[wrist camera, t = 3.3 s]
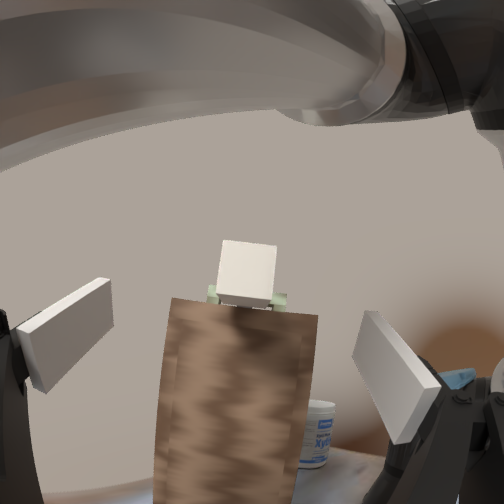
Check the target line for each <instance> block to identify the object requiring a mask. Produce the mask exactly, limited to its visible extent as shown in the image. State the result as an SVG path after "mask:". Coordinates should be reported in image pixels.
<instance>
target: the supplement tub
mask: <svg viewBox="0 0 504 504" xmlns="http://www.w3.org/2000/svg"><path fill="white" fill-rule="evenodd" d="M335 406H336V405H335V404H334V403H331V402H326V401H319V400H309V405H308V412H307V419H306V425H305V431H304V438H303V444H302V449H301V455H300V460H299V466H298V468H317V467H321V466H323V465H324V464H325V463H326V461H327V456H328V451H329V446H330V440H331V435H332V429H333V423H334V416H335Z"/></svg>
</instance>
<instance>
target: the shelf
mask: <svg viewBox="0 0 504 504" xmlns="http://www.w3.org/2000/svg"><path fill="white" fill-rule="evenodd" d="M286 298H287V294H282V293H274V292H272V300H271V301H270V303H269V304H268V306H267V307H272V311H269V310H260V309H251V308H243V307H235V306H227V305H221V300H220V298H219V297H218V296H217V294H216V286H215V285H209V289H208V296H207V303H205V302H198V301H190V300H184V299H178V298H172V300H171V306H170V312H169V319H168V326H167V333H166V340H165V347H164V354H163V363H162V371H161V380H160V389H159V399H158V410H157V423H156V436H155V453H154V477H153V504H291V500H292V495H293V491H294V486H295V481H296V476H297V471H298V466H299V460H300V455H301V449H302V444H303V438H304V431H305V425H306V419H307V412H308V405H309V397H310V390H311V382H312V373H313V364H314V355H315V345H316V334H317V323H318V315H310V314H299V313H289V312H285V308H286Z"/></svg>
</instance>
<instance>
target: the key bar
mask: <svg viewBox="0 0 504 504" xmlns="http://www.w3.org/2000/svg"><path fill="white" fill-rule="evenodd" d="M276 252H277V246H272V245H264V244H255V243H246V242H238V241H229V240H223V245H222V252H221V259H220V265H219V272H218V279H217V286H216V294H217V296H218V297H219V298H220V300H221V301H222V302H223V303H224V304H231V305H237V307H243V308H251V309H252V307H255V308H264V309H265V308H266V307H267V306H268V304H269V303H270V301H271V300H272V292H273V282H274V272H275V262H276Z"/></svg>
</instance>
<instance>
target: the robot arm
mask: <svg viewBox="0 0 504 504" xmlns="http://www.w3.org/2000/svg"><path fill="white" fill-rule="evenodd" d="M270 109H276V110H278V111H279V112H281V113H282V114H284V115H285V116H287V117H289V118H291V119H293V120H296V121H299V122H302V123H305V124H310V125H315V126H341V125H347V124H362V123H380V122H381V123H382V122H399V121H410V120H418V119H427V118H433V117H438V116H442V115H446V114H452V113H456V112H460V111H465V110H470V112H471V114H472V117H473V120H474V123H475V126H476V129H477V132H478V133H479V134H480V135H482V136H483V137H484V138H486V139H487V140H488V141H489V142H491V143H492V144H493V145H494V146H496V147H497V148H498V150H499V152H500V155H501V159H502V163H503V168H504V0H0V172H2V171H5V170H7V169H9V168H11V167H14V166H16V165H19V164H21V163H23V162H26V161H29V160H31V159H33V158H36V157H39V156H42V155H44V154H47V153H50V152H53V151H56V150H58V149H61V148H64V147H67V146H70V145H74V144H77V143H80V142H83V141H86V140H90V139H93V138H97V137H101V136H105V135H108V134H112V133H116V132H120V131H124V130H129V129H133V128H137V127H142V126H147V125H152V124H157V123H161V122H167V121H173V120H179V119H185V118H191V117H198V116H205V115H213V114H222V113H231V112H241V111H254V110H270ZM113 326H114V324H113V310H112V294H111V279H106V278H101V277H99V278H97V279H95V280H94V281H92V282H90V283H88V284H87V285H85V286H83V287H81V288H80V289H78V290H76V291H75V292H73V293H71V294H70V295H68V296H66V297H65V298H63V299H61V300H60V301H58V302H56V303H55V304H53V305H51V306H50V307H48V308H47V309H45V310H43V311H40V312H38V313H37V314H35V315H34V316H33V317H31V318H29V319H28V320H27V321H24V322H23V323H21V324H19V325H18V326H16V327H15V328H13V329H12V330H9V325H8V321H7V316H6V312H5V311H4V310H1V309H0V504H44V502H43V498H42V494H41V490H40V486H39V482H38V477H37V473H36V468H35V463H34V457H33V451H32V444H31V437H30V428H29V418H28V403H27V386H26V383H25V379H27V377H29V376H30V379H31V382H32V385H33V388H35V389H37V390H39V391H41V392H43V393H45V394H47V393H48V392H49V391H50V390H51V389H52V388H53V387H54V386H55V384H56V383H57V382H58V381H59V380H60V379H61V378H62V377H63V376H64V375H65V374H66V373H67V372H68V371H69V370H70V369H71V368H72V367H73V366H74V365H75V364H76V363H77V362H78V361H79V360H80V359H81V358H82V357H83V356H84V355H85V354H86V353H87V352H88V351H89V350H90V349H91V348H92V347H93V346H94V345H95V344H96V343H97V342H98V341H99V340H100V339H101V338H102V337H103V336H104V335H105V334H106V333H107V332H108V331H109V330H110V329H111V328H112V327H113ZM352 358H353V360H354V362H355V364H356V366H357V368H358V370H359V372H360V374H361V376H362V378H363V380H364V382H365V384H366V386H367V388H368V390H369V392H370V395H371V397H372V399H373V401H374V403H375V405H376V407H377V409H378V412H379V414H380V416H381V418H382V420H383V422H384V424H385V427H386V429H387V431H388V433H389V435H390V442H389V447H388V452H387V455H386V460H385V464H384V468H383V471H382V472H381V474H380V475H379V477H378V478H377V480H376V481H375V483H374V484H373V486H372V487H371V489H370V490H369V492H368V493H367V494H366V495H365V497H364V499H363V502H362V504H456V501H457V498H458V494H459V504H504V358H503V359H502V360H501V361H500V362H499V363H498V365H497V366H496V368H495V370H494V373H493V376H490V377H483V378H476V372H475V369H474V368H467V369H461V370H454V371H448V372H443V373H437V372H436V371H435V370H434V369H433V367H432V366H431V365H430V364H429V363H428V361H426V360H425V359H423V358H422V357H420V356H416V355H415V354H414V352H413V351H412V350H411V349H410V348H409V346H408V345H407V344H406V343H405V342H404V341H403V339H402V338H401V337H400V336H399V335H398V334H397V333H396V331H395V330H394V329H393V328H392V327H391V326H390V324H389V323H388V322H387V321H386V320H385V319H384V318H383V317H382V315H381V314H380V313H379V312H378V311H365V312H364V316H363V320H362V323H361V327H360V331H359V334H358V338H357V342H356V345H355V349H354V351H353V355H352Z"/></svg>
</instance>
